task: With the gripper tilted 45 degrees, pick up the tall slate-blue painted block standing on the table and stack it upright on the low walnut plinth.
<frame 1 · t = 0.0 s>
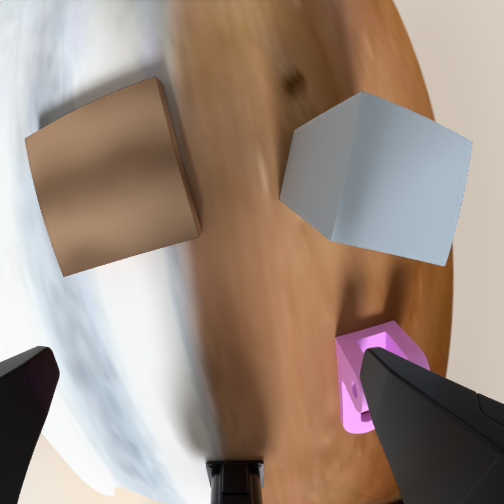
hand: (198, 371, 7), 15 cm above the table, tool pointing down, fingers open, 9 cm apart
block: (320, 173, 21), on the table
plinth: (110, 179, 20), on the table
bracket: (364, 381, 26), on the table
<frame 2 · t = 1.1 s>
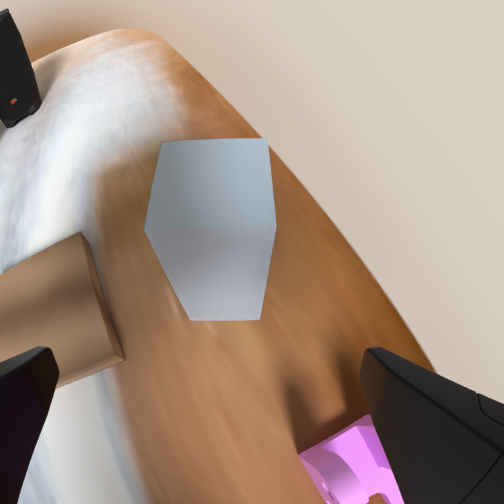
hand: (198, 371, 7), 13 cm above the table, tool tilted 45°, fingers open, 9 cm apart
block: (224, 288, 23), on the table
portable speaker: (23, 114, 36), on the table
plinth: (50, 321, 21), on the table
bracket: (367, 498, 15), on the table
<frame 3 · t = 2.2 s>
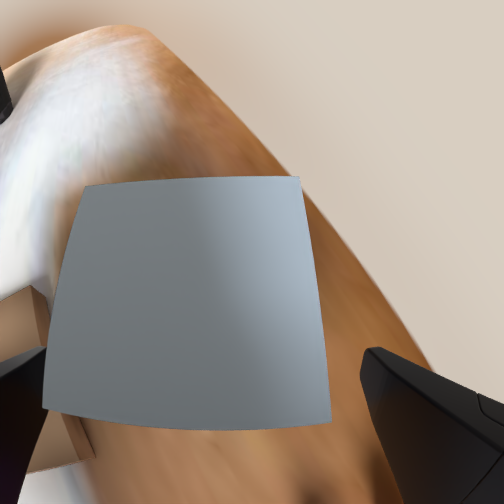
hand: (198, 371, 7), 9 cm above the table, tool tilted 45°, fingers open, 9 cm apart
block: (220, 372, 16), on the table
plinth: (7, 395, 13), on the table
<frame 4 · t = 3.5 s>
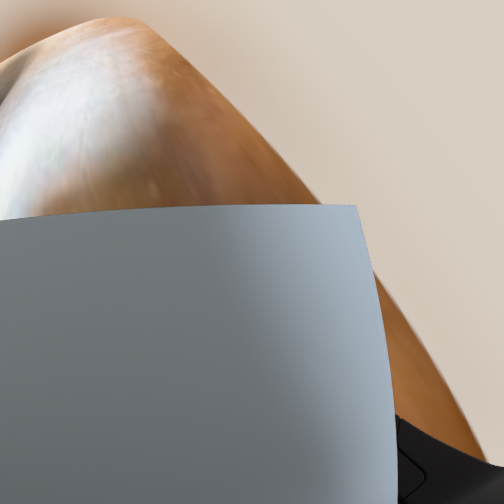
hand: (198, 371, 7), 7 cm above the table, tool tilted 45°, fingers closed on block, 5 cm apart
block: (218, 416, 13), on the table, touching gripper
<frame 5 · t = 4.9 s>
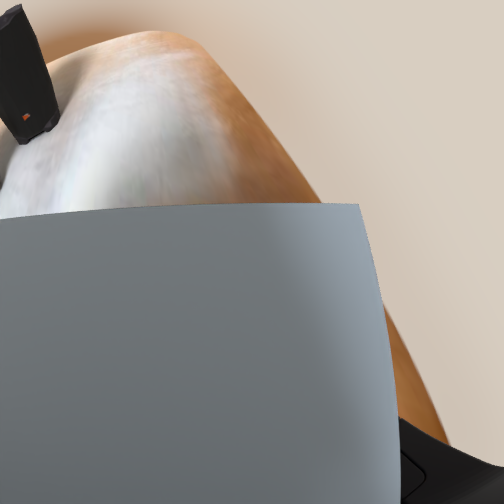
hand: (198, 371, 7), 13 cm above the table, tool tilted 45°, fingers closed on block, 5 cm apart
block: (219, 415, 13), point 7 cm above the table, touching gripper
portable speaker: (38, 128, 34), on the table
when the fingers open (9 cm above the table, at t = 6.6 s): block stays where it is, resting on plinth.
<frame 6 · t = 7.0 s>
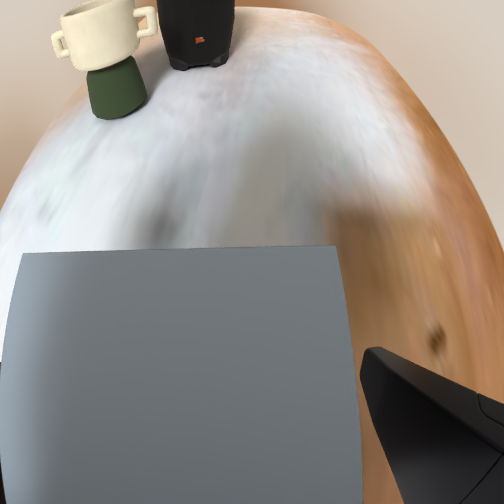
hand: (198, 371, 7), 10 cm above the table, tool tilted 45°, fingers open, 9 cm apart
block: (219, 415, 13), point 2 cm above the table, touching plinth
portable speaker: (198, 61, 34), on the table
character mug: (121, 108, 29), on the table
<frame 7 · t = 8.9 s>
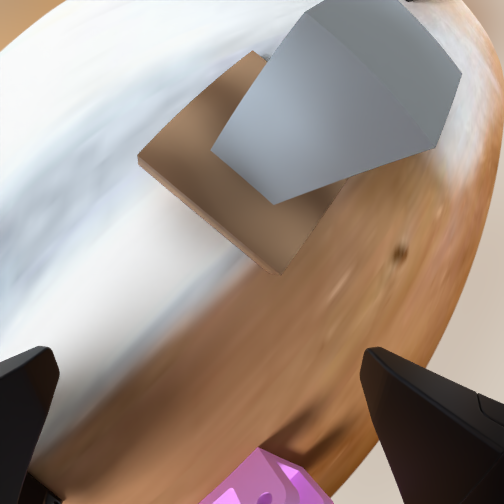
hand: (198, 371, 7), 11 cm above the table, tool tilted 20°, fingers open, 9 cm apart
block: (266, 149, 18), point 2 cm above the table, touching plinth
plinth: (256, 158, 20), on the table
bracket: (231, 502, 20), on the table
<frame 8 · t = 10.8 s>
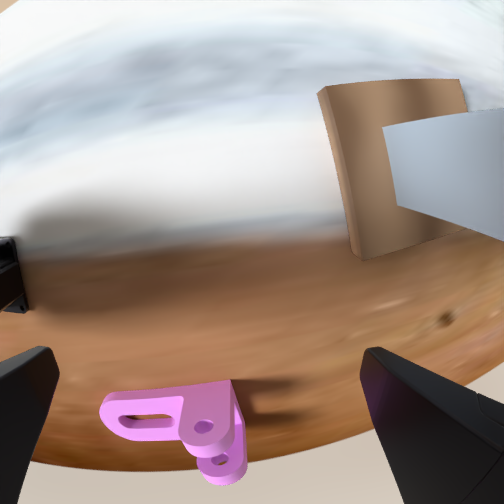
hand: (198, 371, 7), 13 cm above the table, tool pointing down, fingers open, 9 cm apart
block: (421, 160, 17), point 2 cm above the table, touching plinth
plinth: (406, 159, 19), on the table
bracket: (167, 408, 24), on the table
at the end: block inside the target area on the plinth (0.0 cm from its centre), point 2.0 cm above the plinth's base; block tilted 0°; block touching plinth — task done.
